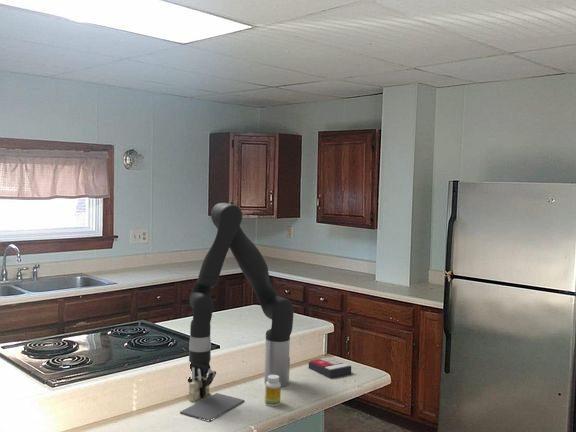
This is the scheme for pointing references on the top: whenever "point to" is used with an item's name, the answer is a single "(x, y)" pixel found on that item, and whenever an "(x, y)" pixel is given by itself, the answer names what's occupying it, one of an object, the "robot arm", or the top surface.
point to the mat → (212, 406)
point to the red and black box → (330, 367)
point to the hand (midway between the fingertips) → (199, 395)
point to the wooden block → (196, 390)
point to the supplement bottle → (272, 390)
